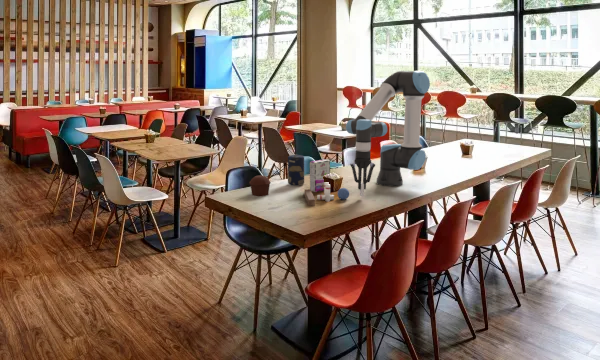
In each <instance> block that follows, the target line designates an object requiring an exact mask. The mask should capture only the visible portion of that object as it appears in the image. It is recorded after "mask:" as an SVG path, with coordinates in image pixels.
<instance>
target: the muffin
mask: <svg viewBox="0 0 600 360" xmlns="http://www.w3.org/2000/svg"><path fill="white" fill-rule="evenodd" d="M270 184H272V183H271V181H270V180H269V178H268V177H267V176H265V175H261V174H260V175H256V176H254V177H252V178H251V179H250V180H249V185H250V189H251V196H254V197H266V196H269V192H270V186H271V185H270Z"/></svg>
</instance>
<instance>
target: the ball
mask: <svg viewBox="0 0 600 360" xmlns="http://www.w3.org/2000/svg"><path fill="white" fill-rule="evenodd" d="M337 197H338V198H339V199H340V200H343V201H344V200H347V199H348V198H349V197H350V192H349V189H348V188H345V187H342V188H339V189H338V190H337Z"/></svg>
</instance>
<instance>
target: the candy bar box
mask: <svg viewBox="0 0 600 360" xmlns="http://www.w3.org/2000/svg"><path fill="white" fill-rule="evenodd" d="M326 174H330V175H331V160H330V159H319V160H314V161H309V189H310V190H311V192H312V193H313V192H314V193H317V192H324V179H323V176H324V175H326Z"/></svg>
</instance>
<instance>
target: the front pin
mask: <svg viewBox="0 0 600 360" xmlns="http://www.w3.org/2000/svg"><path fill="white" fill-rule="evenodd" d="M316 199H317V200H318V201H321V200H322V201H324V200H325V195H324V194H317V195H316ZM331 200H332V201H333V200H335V194H330V201H331Z"/></svg>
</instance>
